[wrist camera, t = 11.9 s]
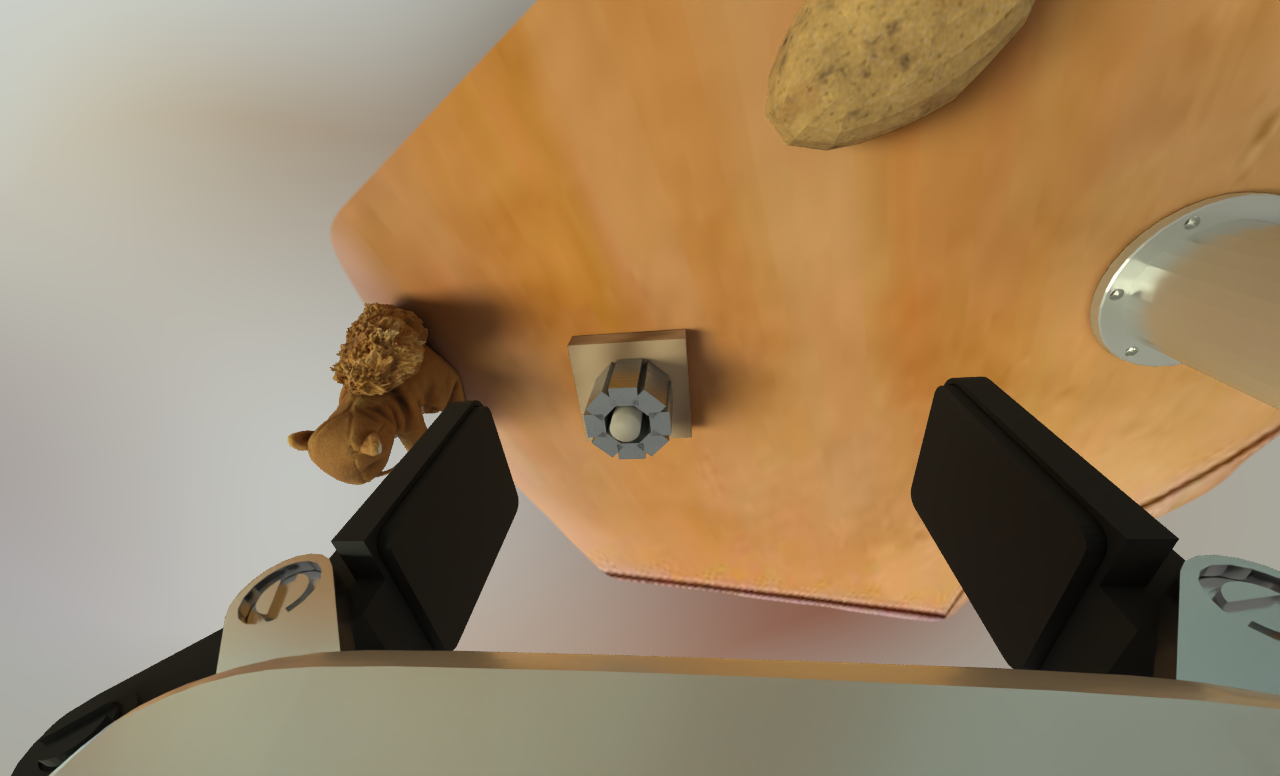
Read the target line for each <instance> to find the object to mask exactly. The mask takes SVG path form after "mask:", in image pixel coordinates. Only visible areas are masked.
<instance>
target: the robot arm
mask: <svg viewBox="0 0 1280 776" xmlns="http://www.w3.org/2000/svg"><path fill="white" fill-rule="evenodd" d="M1090 324H1091V328H1092V331H1093V335H1094V337H1095V338H1096V340H1097V341H1098V343H1099V344H1100V345H1101V346H1102V347H1103V348H1104V349H1106V350H1107V351H1108V352H1109V353H1111V354H1113V355H1114V356H1116V357H1118V358H1120V359H1122V360H1124V361H1127V362H1130V363H1133V364H1136V365H1143V366H1152V367H1157V366H1173V365H1178V364H1185V365H1187V366H1189V367H1191V368H1193V369H1195V370H1197V371H1199V372H1201V373H1203V374H1206V375H1208V376H1210V377H1212V378H1214V379H1216V380H1218V381H1220V382H1222V383H1224V384H1226V385H1228V386H1231V387H1233V388H1235V389H1237V390H1239V391H1241V392H1243V393H1245V394H1247V395H1249V396H1251V397H1253V398H1256V399H1258V400H1260V401H1262V402H1264V403H1266V404H1268V405H1270V406H1272V407H1274V408H1276V409H1278V410H1280V196H1279V195H1275V194H1267V193H1255V192H1243V193H1232V194H1225V195H1221V196H1217V197H1213V198H1209V199H1205V200H1203V201H1200V202H1198V203H1195V204H1192V205H1190V206H1187V207H1185V208H1183V209H1181V210H1179V211H1177V212H1175V213H1173V214H1171V215H1169V216H1168V217H1166V218H1164V219H1162V220H1161V221H1159V222H1158V223H1156V224H1155V225H1153V226H1152V227H1150V228H1149V229H1148V230H1146V231H1145V232H1143V233H1142V234H1141V235H1140V236H1139V237H1137V238H1136V239H1135V240H1134V241H1133V242H1132V243H1131V244H1129V245H1128V246H1127V247H1126V248H1125V249H1124V250H1123V251H1122V253H1121V254H1120V255H1119V256H1118V257H1117V258H1116V259H1115V260H1114V262H1113V263H1112V264H1111V265H1110V267H1109V268H1108V270H1107V271H1106V273H1105V274H1104V276H1103V277H1102V279H1101V280H1100V283H1099V285H1098V287H1097V289H1096V291H1095V294H1094V296H1093V300H1092V305H1091V309H1090ZM911 498H912V502H913V505H914V507H915V509H916V511H917V512H918V514H919V516H920V518H921V519H922V521H923V523H924V524H925V526H926V528H927V529H928V531H929V533H930V534H931V536H932V538H933V539H934V541H935V543H936V544H937V546H938V548H939V550H940V551H941V553H942V555H943V556H944V558H945V560H946V561H947V563H948V565H949V566H950V568H951V570H952V571H953V573H954V575H955V577H956V578H957V580H958V582H959V583H960V585H961V587H962V588H963V590H964V592H965V593H966V595H967V597H968V598H969V600H970V602H971V603H972V605H973V607H974V609H975V610H976V612H977V614H978V615H979V617H980V618H981V620H982V622H983V624H984V625H985V627H986V629H987V630H988V632H989V634H990V635H991V637H992V639H993V641H994V642H995V644H996V646H997V647H998V649H999V651H1000V652H1001V654H1002V655H1003V657H1004V659H1005V660H1006V662H1007V663H1008V664H1009V665H1010V666H1011V667H1012V668H1013V669H1002V668H976V667H950V666H948V667H947V666H923V665H896V664H869V663H842V662H814V661H813V662H812V661H784V660H754V659H724V658H693V657H660V656H628V655H592V654H556V653H517V652H479V651H478V652H476V651H453V650H454V649H455V648H456V646H457V644H458V642H459V640H460V638H461V636H462V634H463V631H464V629H465V627H466V625H467V622H468V620H469V618H470V615H471V613H472V611H473V609H474V607H475V604H476V602H477V600H478V598H479V595H480V593H481V591H482V589H483V586H484V584H485V582H486V580H487V577H488V575H489V573H490V571H491V568H492V566H493V564H494V562H495V559H496V557H497V555H498V553H499V550H500V548H501V546H502V544H503V541H504V539H505V537H506V534H507V532H508V530H509V528H510V526H511V524H512V521H513V519H514V517H515V514H516V512H517V508H518V495H517V492H516V488H515V485H514V482H513V479H512V476H511V473H510V470H509V467H508V463H507V460H506V457H505V454H504V451H503V448H502V445H501V442H500V439H499V436H498V432H497V429H496V426H495V423H494V420H493V417H492V414H491V411H490V409H489V408H488V407H486V406H484V407H483V405H482V404H481V403H480V402H479V401H455V402H451V403H450V404H449V405H448V406H447V407H446V408H445V409H444V411H443V412H442V413H441V414H440V415H439V416H438V418H437V419H436V420H435V421H434V422H433V423H432V425H431V426H430V427H429V428H428V429H427V430H426V432H425V433H424V434H423V435H422V436H421V437H420V438H419V440H418V441H417V442H416V443H415V444H414V445H413V447H412V448H411V449H410V450H409V451H408V452H407V454H406V455H405V456H404V457H403V458H402V459H401V461H400V462H399V463H398V464H397V465H396V466H395V468H394V469H393V470H392V471H391V472H390V473H389V475H388V476H387V477H386V478H385V479H384V480H383V481H382V483H381V484H380V485H379V486H378V487H377V488H376V490H375V491H374V492H373V493H372V494H371V495H370V497H369V498H368V499H367V500H366V501H365V502H364V504H363V505H362V506H361V507H360V508H359V509H358V511H357V512H356V513H355V514H354V515H353V516H352V518H351V519H350V520H349V521H348V522H347V523H346V524H345V526H344V527H343V528H342V529H341V530H340V531H339V533H338V534H337V535H336V536H335V537H334V538H333V540H332V541H331V542H332V544H333V545H334V547H335V548H336V551H335V553H334V554H333V555H332V556H331V557H330V558H326V557H325V556H323V555H321V554H306V555H301V556H296V557H294V558H291V559H288V560H286V561H283V562H281V563H279V564H277V565H275V566H273V567H271V568H270V569H268V570H266V571H265V572H263V573H262V574H260V575H259V576H258V577H256V578H255V579H253V580H252V581H251V582H250V583H249V584H248V585H247V586H246V587H245V588H244V589H243V590H241V591H240V593H239V594H238V595H237V596H236V598H235V599H234V600H233V602H232V603H231V605H230V606H229V609H228V611H227V614H226V616H225V621H224V628H222V629H221V630H219V631H217V632H215V633H213V634H211V635H209V636H207V637H205V638H204V639H202V640H200V641H198V642H196V643H194V644H192V645H191V646H189V647H187V648H185V649H183V650H181V651H179V652H177V653H175V654H174V655H172V656H170V657H168V658H166V659H164V660H162V661H160V662H159V663H157V664H155V665H153V666H151V667H149V668H148V669H146V670H144V671H142V672H140V673H138V674H136V675H134V676H133V677H131V678H129V679H127V680H125V681H123V682H121V683H119V684H117V685H116V686H113V687H112V688H110V689H108V690H106V691H104V692H102V693H100V694H98V695H97V696H95V697H93V698H92V699H90V700H89V701H87V702H85V703H84V704H82V705H80V706H79V707H77V708H75V709H74V710H72V711H70V712H69V713H67V714H66V715H65V716H63V717H62V718H61V719H59V720H58V721H57V722H56V723H55V724H54V725H52V726H51V727H50V728H49V729H48V730H47V731H46V732H45V733H44V735H43V736H42V737H41V738H40V739H39V740H37V741H36V742H35V743H34V744H33V746H32V747H31V748H30V749H29V750H28V752H27V753H26V754H25V755H24V757H23V758H22V759H21V760H20V762H19V763H18V764H17V766H16V768H15V769H14V771H13V773H12V775H11V776H1280V571H1278V570H1275V569H1273V568H1270V567H1268V566H1265V565H1261V564H1257V563H1254V562H1250V561H1246V560H1243V559H1239V558H1234V557H1226V556H1219V555H1205V556H1196V557H1193V558H1191V559H1189V560H1187V561H1185V560H1184V559H1183V558H1182V557H1180V556H1179V555H1178V554H1177V553H1176V552H1175V551H1174V550H1173V547H1174V546H1175V544H1176V542H1177V541H1178V540H1179V538H1177V537H1176V536H1175V535H1174V534H1173V533H1171V532H1170V531H1169V530H1168V529H1167V528H1166V527H1164V526H1163V525H1162V524H1161V523H1160V522H1158V521H1157V520H1156V519H1155V518H1154V517H1152V516H1151V515H1150V514H1149V513H1148V512H1146V511H1145V510H1144V509H1143V508H1142V507H1141V506H1139V505H1138V504H1137V503H1136V502H1135V501H1133V500H1132V499H1131V498H1130V497H1129V496H1127V495H1126V494H1125V493H1124V492H1123V491H1122V490H1120V489H1119V488H1118V487H1117V486H1116V485H1114V484H1113V483H1112V482H1111V481H1110V480H1108V479H1107V478H1106V477H1105V476H1104V475H1103V474H1101V473H1100V472H1099V471H1098V470H1097V469H1095V468H1094V467H1093V466H1092V465H1091V464H1089V463H1088V462H1087V461H1086V460H1085V459H1083V458H1082V457H1081V456H1080V455H1079V454H1078V453H1076V452H1075V451H1074V450H1073V449H1072V448H1070V447H1069V446H1068V445H1067V444H1066V443H1064V442H1063V441H1062V440H1061V439H1060V438H1059V437H1057V436H1056V435H1055V434H1054V433H1053V432H1051V431H1050V430H1049V429H1048V428H1047V427H1045V426H1044V425H1043V424H1042V423H1041V422H1040V421H1038V420H1037V419H1036V418H1035V417H1034V416H1032V415H1031V414H1030V413H1029V412H1028V411H1026V410H1025V409H1024V408H1023V407H1022V406H1020V405H1019V404H1018V403H1017V402H1016V401H1015V400H1013V399H1012V398H1011V397H1010V396H1009V395H1007V394H1006V393H1005V392H1004V391H1003V390H1001V389H1000V388H999V387H998V386H997V385H996V384H994V383H993V382H992V381H991V380H990V379H988V378H986V377H964V378H951V379H949V380H947V382H946V383H945V385H944V386H939V387H938V388H937V389H936V391H935V394H934V398H933V402H932V406H931V410H930V414H929V418H928V422H927V426H926V430H925V434H924V439H923V443H922V447H921V451H920V455H919V459H918V463H917V467H916V471H915V475H914V479H913V483H912V487H911Z"/></svg>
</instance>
